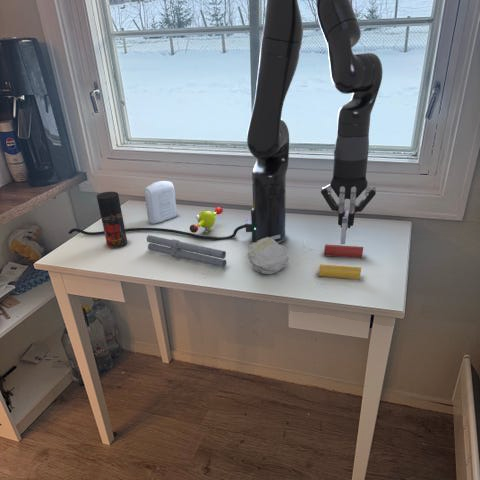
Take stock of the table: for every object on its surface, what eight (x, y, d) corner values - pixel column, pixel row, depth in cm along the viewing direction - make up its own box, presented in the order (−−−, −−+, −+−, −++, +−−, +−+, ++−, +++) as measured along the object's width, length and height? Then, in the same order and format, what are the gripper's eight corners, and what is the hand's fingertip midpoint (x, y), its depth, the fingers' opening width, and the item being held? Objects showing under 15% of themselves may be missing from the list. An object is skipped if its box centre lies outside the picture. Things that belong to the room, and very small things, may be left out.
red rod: (323, 257, 126) (324, 247, 125) (325, 252, 129) (325, 242, 127) (361, 260, 124) (363, 249, 122) (362, 255, 126) (363, 245, 125)
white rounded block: (171, 213, 159) (167, 176, 152) (179, 216, 157) (175, 179, 150) (146, 222, 153) (140, 184, 147) (154, 225, 151) (148, 187, 144)
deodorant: (103, 245, 140) (92, 195, 131) (120, 238, 143) (110, 190, 135) (114, 250, 136) (104, 200, 128) (131, 243, 140) (122, 194, 131)
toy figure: (213, 220, 152) (211, 200, 148) (228, 222, 150) (227, 202, 146) (184, 242, 139) (181, 220, 135) (200, 244, 137) (198, 222, 133)
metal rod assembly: (227, 265, 125) (226, 248, 122) (222, 270, 123) (220, 252, 120) (152, 248, 136) (149, 232, 133) (146, 252, 134) (143, 235, 131)
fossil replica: (294, 262, 125) (258, 261, 128) (293, 232, 121) (256, 232, 124) (283, 280, 115) (245, 279, 118) (281, 248, 111) (241, 247, 114)
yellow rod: (318, 278, 117) (319, 267, 115) (319, 272, 119) (320, 262, 118) (359, 281, 114) (360, 270, 113) (360, 276, 117) (361, 265, 115)
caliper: (344, 246, 108) (346, 220, 104) (340, 246, 108) (342, 220, 105) (350, 213, 124) (351, 190, 121) (345, 213, 124) (347, 190, 121)
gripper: (382, 150, 108) (374, 222, 117) (322, 150, 111) (319, 219, 120) (381, 159, 102) (373, 234, 111) (319, 158, 105) (316, 231, 114)
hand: (345, 226), depth 116 cm, fingers closed on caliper, 1 cm apart
